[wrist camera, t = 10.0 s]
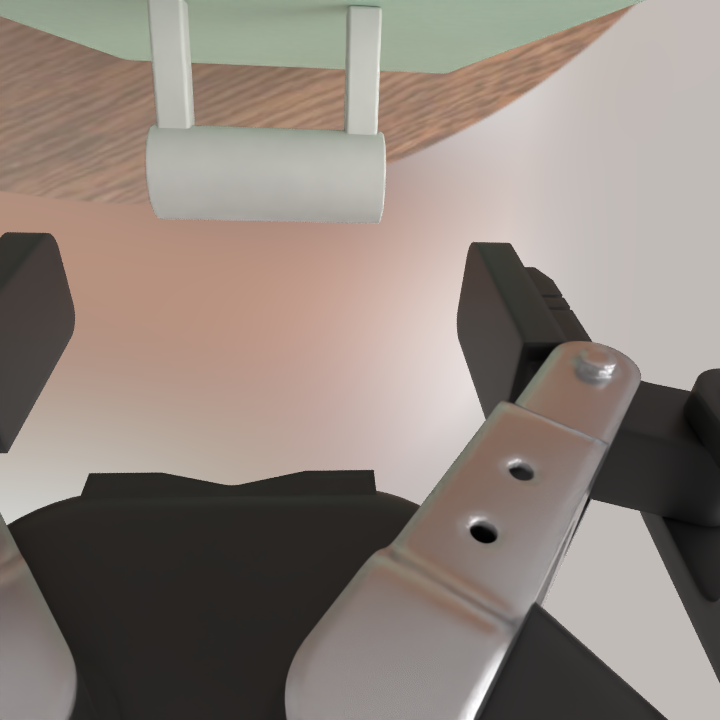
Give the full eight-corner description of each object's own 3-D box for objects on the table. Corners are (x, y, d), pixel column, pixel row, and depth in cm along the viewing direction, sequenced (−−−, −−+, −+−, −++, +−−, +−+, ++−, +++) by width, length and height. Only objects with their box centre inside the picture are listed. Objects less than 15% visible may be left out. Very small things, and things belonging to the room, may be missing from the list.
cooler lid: (-207, -110, 9) (-123, 232, 11) (667, -56, 11) (612, 246, 12) (122, 39, 26) (134, 167, 28) (448, 53, 27) (439, 176, 29)
